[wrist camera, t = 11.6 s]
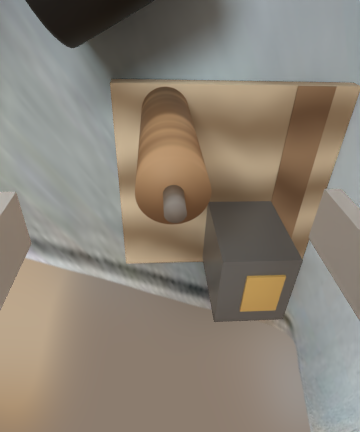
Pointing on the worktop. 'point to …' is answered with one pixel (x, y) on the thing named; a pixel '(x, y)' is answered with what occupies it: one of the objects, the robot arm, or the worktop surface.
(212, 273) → the grey box with label
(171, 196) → the wooden tool handle
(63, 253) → the worktop surface
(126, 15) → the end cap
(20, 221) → the robot arm
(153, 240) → the birch board
